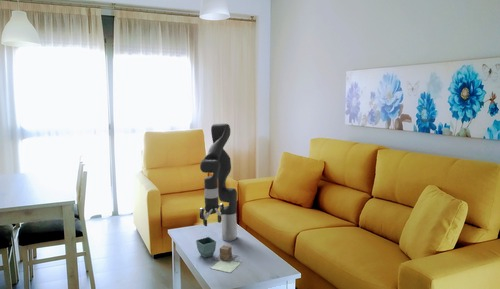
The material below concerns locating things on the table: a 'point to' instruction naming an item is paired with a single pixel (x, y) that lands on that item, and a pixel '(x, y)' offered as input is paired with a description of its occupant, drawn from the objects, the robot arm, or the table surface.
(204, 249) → the flower pot
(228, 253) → the walnut block
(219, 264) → the coaster
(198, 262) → the table surface
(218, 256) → the tile
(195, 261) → the table surface
